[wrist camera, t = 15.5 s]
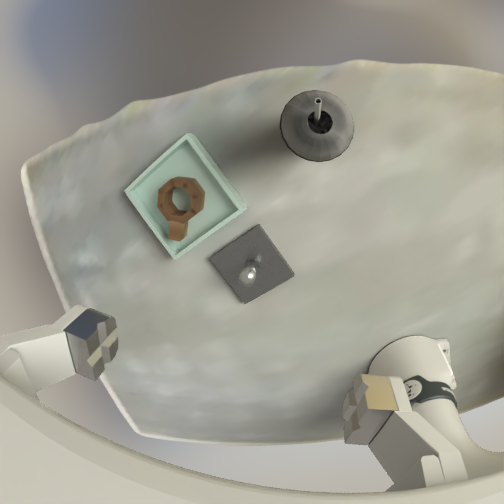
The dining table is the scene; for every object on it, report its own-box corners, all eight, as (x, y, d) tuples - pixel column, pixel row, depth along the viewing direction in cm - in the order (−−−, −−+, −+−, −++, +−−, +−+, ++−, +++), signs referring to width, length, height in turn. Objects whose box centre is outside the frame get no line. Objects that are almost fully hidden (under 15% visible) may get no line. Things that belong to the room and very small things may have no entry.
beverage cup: (296, 165, 39) (293, 181, 20) (277, 115, 37) (256, 87, 19) (346, 149, 37) (389, 151, 19) (327, 99, 35) (352, 57, 17)
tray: (247, 207, 42) (244, 210, 40) (180, 254, 46) (174, 260, 44) (193, 133, 40) (187, 132, 37) (132, 188, 44) (123, 190, 41)
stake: (294, 273, 44) (293, 289, 40) (246, 301, 47) (239, 318, 42) (259, 224, 43) (253, 234, 38) (211, 256, 46) (201, 269, 41)
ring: (168, 174, 42) (159, 177, 39) (206, 180, 41) (200, 182, 38) (163, 230, 45) (155, 236, 42) (200, 238, 44) (193, 244, 41)
